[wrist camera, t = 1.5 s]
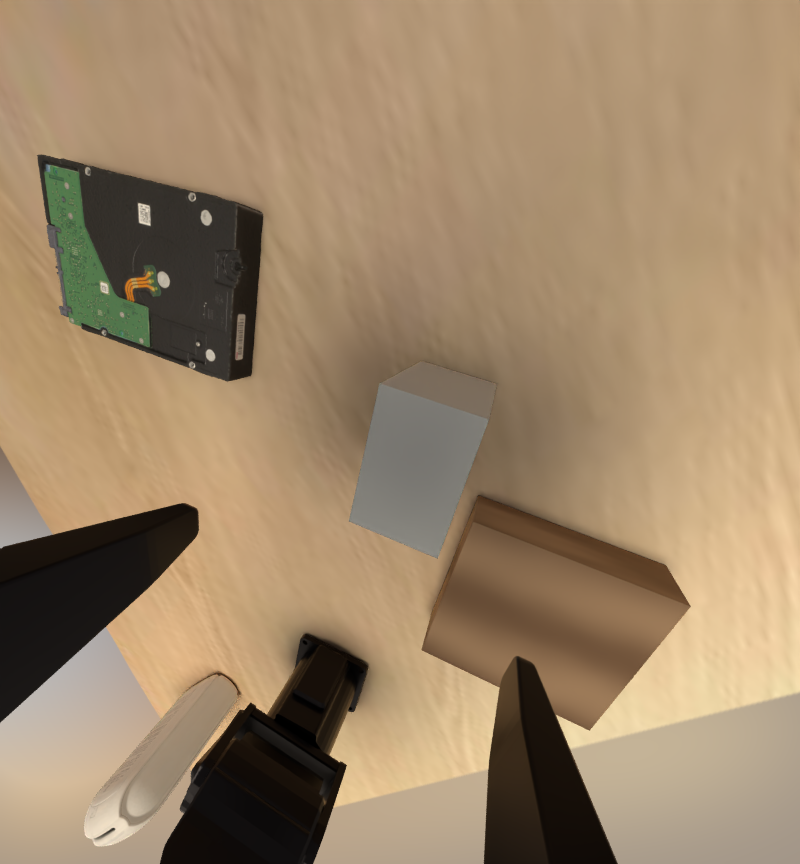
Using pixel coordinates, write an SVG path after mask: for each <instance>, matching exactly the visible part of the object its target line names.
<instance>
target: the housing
mask: <svg viewBox="0 0 800 864" xmlns="http://www.w3.org/2000/svg"><path fill="white" fill-rule="evenodd" d="M496 387H497V384H496V383H492V382H489V381H486V380H483V379H479V378H476V377H473V376H470V375H466V374H463V373H460V372H457V371H453V370H450V369H447V368H444V367H440V366H437V365H434V364H431V363H427V362H424V361H420V362H418V363H417V364H415V365H413V366H411V367H409V368H407V369H405V370H404V371H402V372H400V373H398V374H396V375H394V376H392V377H391V378H389V379H387V380H385V381H383V382H381V383H380V384H379V388H378V393H377V397H376V402H375V406H374V411H373V415H372V420H371V424H370V429H369V433H368V438H367V442H366V447H365V451H364V456H363V460H362V465H361V469H360V474H359V478H358V483H357V487H356V492H355V496H354V500H353V505H352V509H351V514H350V518H349V522H352V523H354V524H356V525H359V526H361V527H364V528H366V529H368V530H371V531H373V532H375V533H378V534H380V535H383V536H385V537H387V538H390V539H392V540H394V541H397V542H399V543H402V544H404V545H406V546H409V547H411V548H413V549H416V550H418V551H421V552H423V553H425V554H428V555H430V556H433V557H435V558H437V559H438V556H439V553H440V551H441V548H442V545H443V543H444V540H445V537H446V535H447V532H448V529H449V526H450V524H451V521H452V518H453V516H454V513H455V510H456V508H457V505H458V502H459V499H460V497H461V494H462V491H463V489H464V486H465V483H466V481H467V478H468V475H469V472H470V470H471V467H472V464H473V462H474V459H475V456H476V454H477V451H478V448H479V446H480V443H481V440H482V437H483V435H484V432H485V429H486V427H487V424H488V421H489V418H490V414H491V409H492V405H493V401H494V396H495V392H496Z"/></svg>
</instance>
